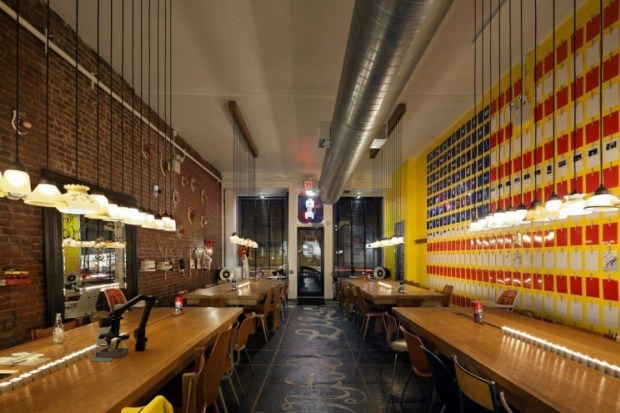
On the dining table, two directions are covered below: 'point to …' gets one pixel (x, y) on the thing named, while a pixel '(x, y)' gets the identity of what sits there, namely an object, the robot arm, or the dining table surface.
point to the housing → (112, 352)
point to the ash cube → (112, 347)
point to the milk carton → (101, 331)
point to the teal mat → (102, 359)
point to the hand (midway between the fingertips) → (112, 349)
